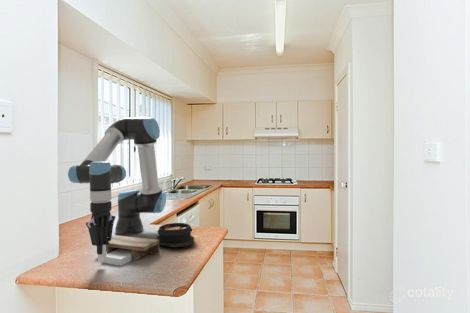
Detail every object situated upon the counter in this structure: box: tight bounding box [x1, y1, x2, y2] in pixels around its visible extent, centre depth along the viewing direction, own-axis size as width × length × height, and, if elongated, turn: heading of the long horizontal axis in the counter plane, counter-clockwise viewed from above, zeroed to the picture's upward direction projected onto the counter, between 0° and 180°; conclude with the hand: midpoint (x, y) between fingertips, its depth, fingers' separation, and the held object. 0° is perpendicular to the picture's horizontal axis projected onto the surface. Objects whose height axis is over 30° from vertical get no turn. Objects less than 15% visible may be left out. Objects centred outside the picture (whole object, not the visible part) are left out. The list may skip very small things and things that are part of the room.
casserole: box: [156, 222, 195, 248], centre depth 145 cm, size 25×19×8 cm
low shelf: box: [106, 234, 160, 261], centre depth 129 cm, size 11×24×6 cm, turn 71°
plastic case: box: [101, 248, 133, 266], centre depth 125 cm, size 14×10×3 cm
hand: (102, 261), depth 115 cm, fingers closed
